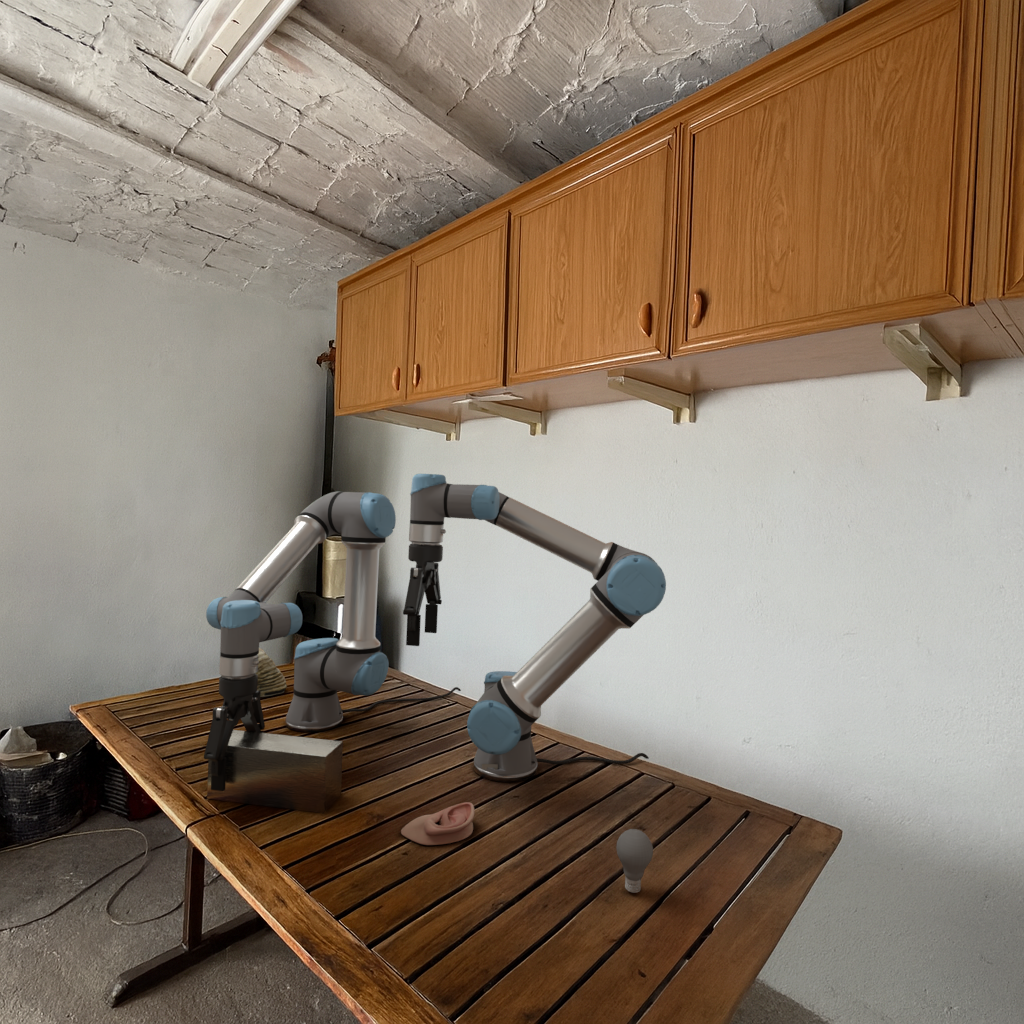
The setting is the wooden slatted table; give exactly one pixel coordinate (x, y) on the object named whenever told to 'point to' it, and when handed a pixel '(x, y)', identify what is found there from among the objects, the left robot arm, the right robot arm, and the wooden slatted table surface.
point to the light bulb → (634, 857)
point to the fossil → (269, 676)
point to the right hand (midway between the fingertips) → (422, 638)
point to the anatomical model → (442, 825)
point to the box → (281, 771)
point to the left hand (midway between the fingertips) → (235, 777)
